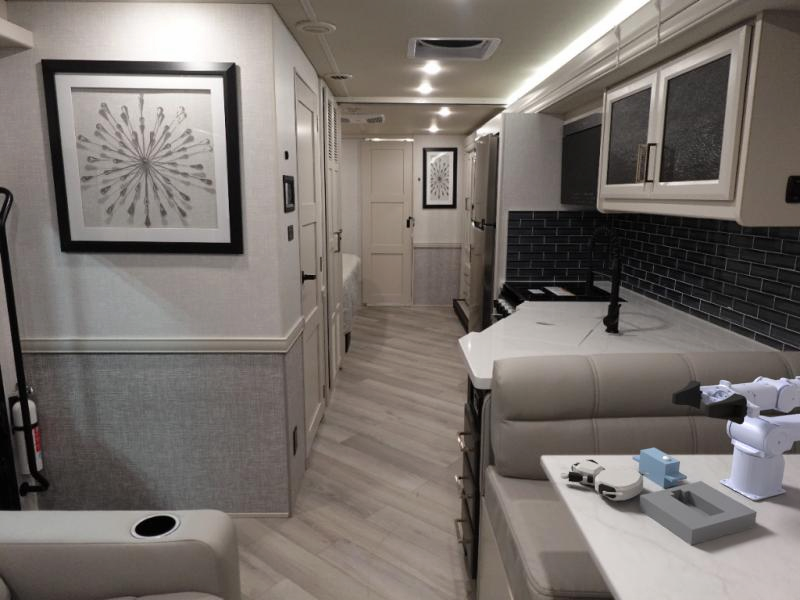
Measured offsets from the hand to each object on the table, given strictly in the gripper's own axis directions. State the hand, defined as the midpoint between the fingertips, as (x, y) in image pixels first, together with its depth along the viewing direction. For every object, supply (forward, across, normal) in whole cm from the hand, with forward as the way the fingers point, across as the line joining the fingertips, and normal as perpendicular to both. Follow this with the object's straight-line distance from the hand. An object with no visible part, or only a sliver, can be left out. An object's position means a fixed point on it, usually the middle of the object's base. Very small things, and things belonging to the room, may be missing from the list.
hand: (689, 404), depth 104 cm
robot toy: (+9, -11, +21) cm, 26 cm away
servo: (-5, -11, +21) cm, 24 cm away
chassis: (0, +4, +21) cm, 22 cm away
